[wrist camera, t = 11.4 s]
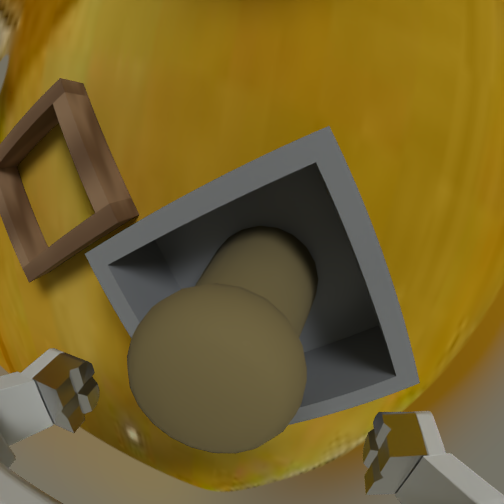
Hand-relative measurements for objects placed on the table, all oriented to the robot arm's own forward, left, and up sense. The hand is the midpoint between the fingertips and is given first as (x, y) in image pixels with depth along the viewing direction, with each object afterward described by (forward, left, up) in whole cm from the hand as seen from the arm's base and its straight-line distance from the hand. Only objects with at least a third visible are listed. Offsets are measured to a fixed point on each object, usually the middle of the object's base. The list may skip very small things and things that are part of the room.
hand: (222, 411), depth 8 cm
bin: (0, 0, -12) cm, 12 cm away
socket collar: (-12, -11, -12) cm, 20 cm away
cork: (0, 0, -11) cm, 11 cm away
